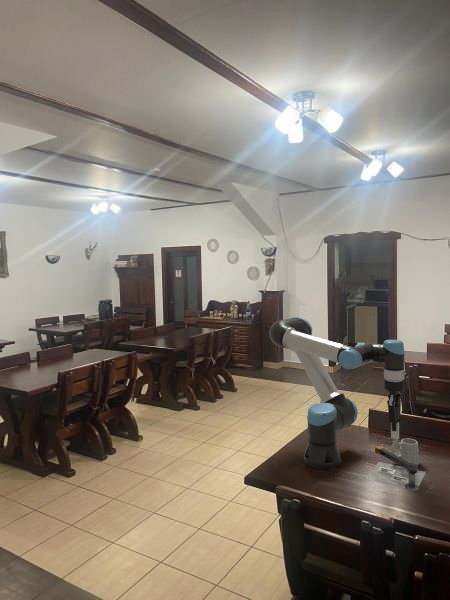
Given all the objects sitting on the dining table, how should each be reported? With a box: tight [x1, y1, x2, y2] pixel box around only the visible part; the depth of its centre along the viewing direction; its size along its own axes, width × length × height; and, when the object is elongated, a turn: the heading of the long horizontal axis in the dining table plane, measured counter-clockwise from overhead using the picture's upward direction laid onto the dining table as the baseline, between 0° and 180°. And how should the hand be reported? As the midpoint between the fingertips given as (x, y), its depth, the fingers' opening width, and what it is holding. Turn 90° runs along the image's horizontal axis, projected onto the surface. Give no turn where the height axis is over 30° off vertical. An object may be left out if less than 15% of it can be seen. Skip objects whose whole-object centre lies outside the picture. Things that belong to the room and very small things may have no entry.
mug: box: [389, 437, 421, 467], centre depth 183 cm, size 8×12×12 cm, turn 95°
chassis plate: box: [366, 461, 427, 492], centre depth 174 cm, size 18×17×1 cm
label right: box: [390, 475, 409, 484], centre depth 170 cm, size 6×4×1 cm, turn 56°
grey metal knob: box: [404, 473, 420, 492], centre depth 164 cm, size 5×5×7 cm
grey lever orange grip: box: [374, 445, 418, 473], centre depth 172 cm, size 20×4×2 cm, turn 21°
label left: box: [377, 467, 396, 475], centre depth 177 cm, size 6×4×1 cm, turn 56°
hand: (395, 438), depth 180 cm, fingers closed
